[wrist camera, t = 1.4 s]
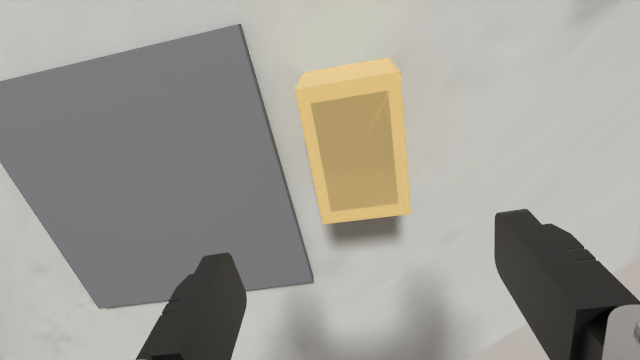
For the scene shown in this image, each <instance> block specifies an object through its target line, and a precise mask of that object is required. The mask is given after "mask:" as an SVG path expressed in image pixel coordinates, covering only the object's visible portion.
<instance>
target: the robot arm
mask: <svg viewBox="0 0 640 360" xmlns="http://www.w3.org/2000/svg"><path fill="white" fill-rule="evenodd" d="M495 263H496V267H497V270H498V273H499V275H500V277H501V279H502V281H503V282H504V284H505V286H506V287H507V289H508V291H509V292H510V294H511V296H512V297H513V299H514V301H515V302H516V304H517V306H518V307H519V309H520V311H521V312H522V314H523V316H524V317H525V319H526V321H527V322H528V324H529V326H530V327H531V329H532V331H533V332H534V334H535V336H536V337H537V339H538V341H539V342H540V344H541V346H542V347H543V349H544V351H545V352H546V354H547V355H548V357H549V359H550V360H640V301H639V300H638V299H637V298H636V297H635V296H633V295H632V294H631V292H629V290H627V289H626V288H625V287H624V286H623V285H622V284H621V283H620V282H619V281H618V280H617V279H616V278H615V277H614V276H613V275H612V274H611V273H610V272H609V271H608V270H607V269H606V268H605V267H604V266H603V265H602V264H601V263H600V262H599V261H596V259H595V257H594V256H593V255H592V254H591V253H590V252H589V251H588V250H587V249H586V250H585V249H584V246H583V245H582V244H581V243H580V242H579V241H578V240H577V239H576V238H574V237H573V236H572V235H571V234H570V233H568V232H566V231H565V230H563V229H561V228H559V227H557V226H555V225H553V224H544V225H542V224H541V223H540V222H539V221H538V220H537V219H536V218H535V217H534V216H533V215H532V214H531V212H530V211H528V210H527V209H521V210H514V211H507V212H501V213H497V214H496V216H495ZM246 302H247V299H246V291H245V288H244V285H243V283H242V280H241V278H240V275H239V273H238V270H237V268H236V265H235V263H234V260H233V258H232V256H231V254H230V253H228V252H227V253H220V254H213V255H207V256H204V257H203V258H202V259H201V261H200V263H199V265H198V267H197V269H196V271H195V272H194V274H189V275H188V276H187V277H186V278H185V279H184V280H183V281H182V282H181V283H180V284H179V285H178V286H177V287H176V289H175V291H174V292H173V294H172V296H171V298H170V299H169V304H167V305H166V307H165V308H164V310H163V312H162V315H161V316H160V317H159V319H158V321H157V323H156V324H155V326H154V328H153V330H152V331H151V333H150V335H149V337H148V339H147V340H146V342H145V344H144V346H143V347H142V349H141V351H140V353H139V354H138V356H137V358H136V360H231V357H232V353H233V350H234V347H235V343H236V340H237V337H238V333H239V330H240V326H241V323H242V320H243V316H244V313H245V309H246Z"/></svg>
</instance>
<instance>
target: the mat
mask: <svg viewBox="0 0 640 360" xmlns="http://www.w3.org/2000/svg"><path fill="white" fill-rule="evenodd" d="M0 162H1V164H2V165H3V167H4V168H5V170H6V171H7V173H8V174H9V176H10V177H11V179H12V180H13V182H14V183H15V185H16V186H17V188H18V189H19V191H20V192H21V194H22V195H23V197H24V198H25V200H26V201H27V203H28V204H29V206H30V207H31V209H32V210H33V212H34V213H35V215H36V216H37V217H38V219H39V220H40V222H41V223H42V225H43V226H44V228H45V229H46V231H47V232H48V234H49V235H50V237H51V238H52V240H53V241H54V243H55V244H56V246H57V247H58V249H59V250H60V252H61V253H62V255H63V256H64V258H65V259H66V261H67V262H68V264H69V265H70V267H71V268H72V270H73V271H74V273H75V274H76V276H77V277H78V278H79V280H80V281H81V283H82V284H83V286H84V287H85V289H86V290H87V292H88V293H89V295H90V296H91V298H92V299H93V301H94V302H95V304H96V305H97V307H98V308H99V309H101V308H109V307H117V306H125V305H133V304H141V303H149V302H157V301H165V300H169V299H170V298H171V296H172V294H173V292H174V291H175V289H176V287H177V286H178V285H179V284H180V283H181V282H182V281H183V280H184V279H185V278H186V277H187V276H188V275H189V274H194V272H195V271H196V269H197V267H198V265H199V263H200V261H201V259H202V258H203V257H204V256H207V255H213V254H220V253H227V252H228V253H230V254H231V256H232V258H233V260H234V263H235V265H236V268H237V270H238V273H239V275H240V278H241V280H242V283H243V285H244V288H245V290H253V289H261V288H269V287H277V286H285V285H293V284H301V283H309V282H313V274H312V270H311V267H310V263H309V260H308V256H307V253H306V249H305V246H304V242H303V239H302V235H301V232H300V228H299V225H298V221H297V218H296V214H295V211H294V208H293V204H292V201H291V197H290V194H289V190H288V187H287V183H286V180H285V176H284V173H283V169H282V166H281V162H280V159H279V155H278V152H277V148H276V145H275V141H274V138H273V134H272V131H271V128H270V124H269V121H268V117H267V114H266V110H265V107H264V103H263V100H262V96H261V93H260V89H259V86H258V82H257V79H256V75H255V72H254V68H253V65H252V61H251V58H250V54H249V51H248V48H247V44H246V41H245V37H244V34H243V30H242V27H241V24H238V25H234V26H230V27H226V28H222V29H217V30H213V31H209V32H205V33H201V34H197V35H192V36H188V37H184V38H180V39H176V40H171V41H167V42H163V43H159V44H155V45H151V46H146V47H142V48H138V49H134V50H130V51H125V52H121V53H117V54H113V55H109V56H105V57H100V58H96V59H92V60H88V61H84V62H80V63H75V64H71V65H67V66H63V67H59V68H54V69H50V70H46V71H42V72H38V73H34V74H29V75H25V76H21V77H17V78H13V79H9V80H4V81H0Z"/></svg>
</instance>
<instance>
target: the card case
mask: <svg viewBox="0 0 640 360" xmlns="http://www.w3.org/2000/svg"><path fill="white" fill-rule="evenodd" d="M295 94H296V99H297V104H298V109H299V113H300V118H301V123H302V128H303V133H304V137H305V142H306V147H307V152H308V157H309V161H310V166H311V171H312V176H313V181H314V185H315V190H316V195H317V200H318V205H319V209H320V214H321V219H322V224H331V223H339V222H348V221H356V220H365V219H373V218H382V217H390V216H399V215H407V214H411V209H410V195H409V182H408V169H407V155H406V142H405V128H404V115H403V102H402V88H401V75H400V71H399V69H398V68H397V67H396V66H395V65H394V63H393V62H392V61H391V60H390V59H389V58H383V59H378V60H372V61H366V62H360V63H355V64H349V65H343V66H338V67H332V68H326V69H321V70H315V71H309V72H304V73H303V75H302V76H301V78H300V80H299V82H298V84H297V86H296V88H295Z"/></svg>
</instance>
